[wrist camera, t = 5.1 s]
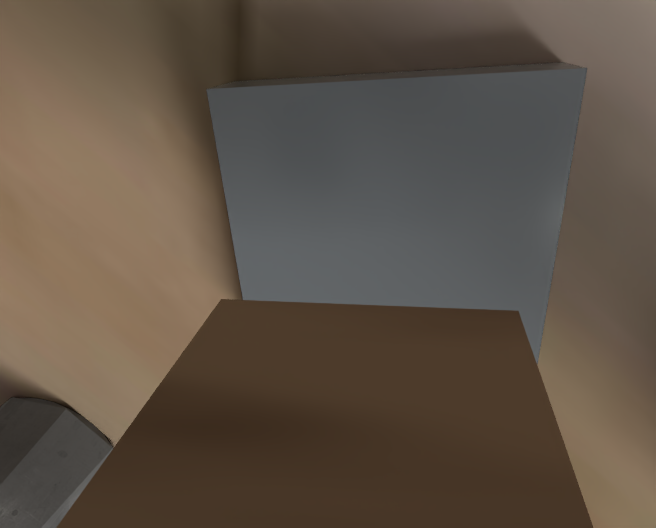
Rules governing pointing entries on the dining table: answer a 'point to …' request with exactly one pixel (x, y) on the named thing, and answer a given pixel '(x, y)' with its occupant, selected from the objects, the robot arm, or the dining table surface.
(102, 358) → the dining table surface
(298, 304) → the walnut cube
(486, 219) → the slate plinth
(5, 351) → the dining table surface
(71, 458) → the coffeepot
